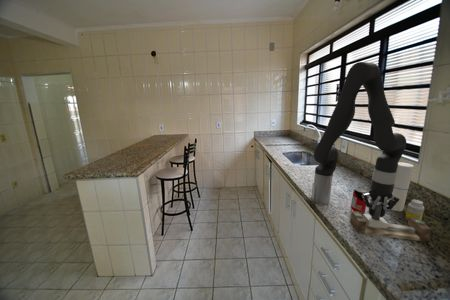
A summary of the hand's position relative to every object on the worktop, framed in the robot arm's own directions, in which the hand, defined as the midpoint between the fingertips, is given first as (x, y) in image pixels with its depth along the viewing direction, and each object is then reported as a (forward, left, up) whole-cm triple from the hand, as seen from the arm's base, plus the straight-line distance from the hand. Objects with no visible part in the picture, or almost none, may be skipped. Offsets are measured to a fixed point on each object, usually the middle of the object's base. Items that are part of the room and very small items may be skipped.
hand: (375, 215), depth 85 cm
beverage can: (-1, +16, -7) cm, 17 cm away
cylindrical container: (+20, +23, -7) cm, 31 cm away
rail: (+5, 0, -7) cm, 9 cm away
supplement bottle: (+22, +12, -7) cm, 26 cm away
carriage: (0, 0, -4) cm, 4 cm away
